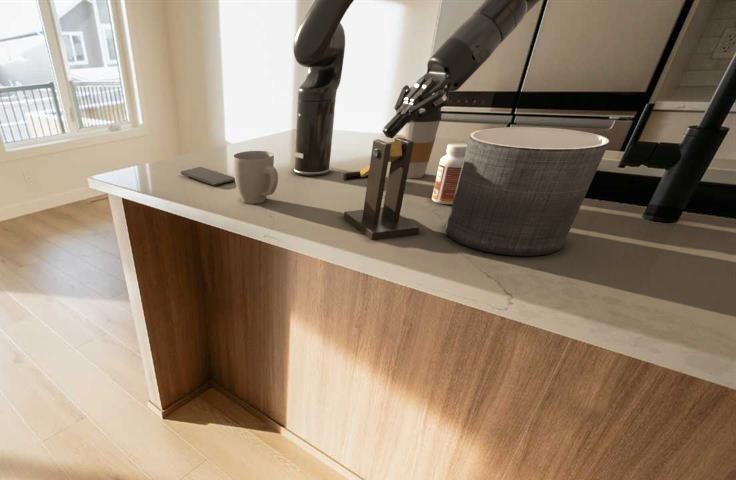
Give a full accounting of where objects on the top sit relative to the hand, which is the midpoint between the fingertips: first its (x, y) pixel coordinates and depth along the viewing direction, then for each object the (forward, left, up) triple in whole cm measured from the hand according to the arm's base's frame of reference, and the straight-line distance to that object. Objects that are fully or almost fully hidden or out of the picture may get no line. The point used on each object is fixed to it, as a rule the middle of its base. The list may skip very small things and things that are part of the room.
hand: (386, 134), depth 81 cm
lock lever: (+6, -4, -5) cm, 9 cm away
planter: (+21, +13, -14) cm, 28 cm away
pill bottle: (+1, +16, -14) cm, 21 cm away
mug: (-12, -22, -14) cm, 29 cm away
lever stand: (+10, -4, -14) cm, 18 cm away
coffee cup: (-20, +20, -14) cm, 31 cm away
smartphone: (-36, -30, -14) cm, 49 cm away
